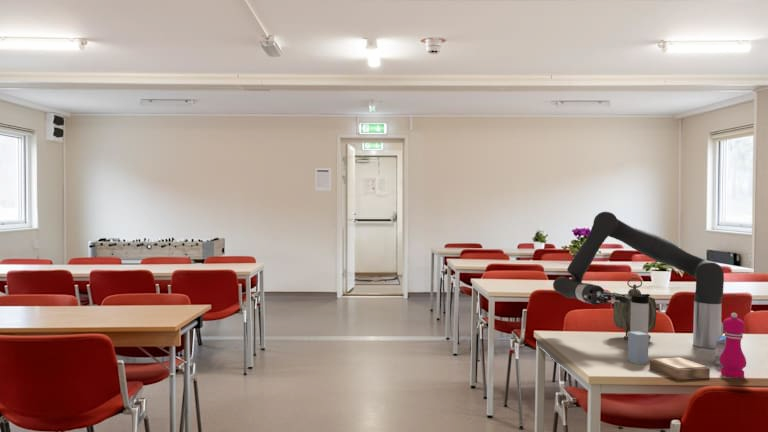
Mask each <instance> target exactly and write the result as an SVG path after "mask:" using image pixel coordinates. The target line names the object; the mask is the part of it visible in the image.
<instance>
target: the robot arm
mask: <svg viewBox="0 0 768 432" xmlns="http://www.w3.org/2000/svg"><path fill="white" fill-rule="evenodd" d="M592 223H593V224H592V226H591V229H590V232H589V234H588V235H587V237H586V239H585V241H584V243H582V245H581V246H580V247H579V249H578V251H577V252H576V253H575V255H574V256H573V258H572V260H571V261H570V263H569V265H568V267H567V269H566V270H567V272H568V274H570V275H571V278H568V277H565V276H558V277H557V278H556V279H554V281H553V283H552V286H553V289H554V291H555V292H556V293H557V294H560V295H562V297H565V298H568V299H575V300H578V301H581V302H583V303H587V304H590V305H594V306H599V305H600V304H608V303H614V302H616V301H617V302H622V303H628V297H625V295H624V294H621V293H617V292H609V291H605V289H604V288H603V287H602V286H600V285H596V284H594V283H593V284H592V283H587V282H583V279H584V277H585V274H586V272H587V271H588V270H589V268H590V266H591V264H592V262H593V261H594V258H595V256H596V255H597V253H598V251H599V249H600V248H601V247H602V245H603V243H604V242H605V241H606V239H607V238H608V237H610V238H612V239H616V240H618V241H620V242H622V243H624V244H626V245H627V246H628V247H630V248H632V249H633V250H635V251H637V252H639V253H641V254H642V255H644V256H646V257H648V258H650V259H653V260H654V261H656V262H660V263H662V264H664V265H668V266H671V267H674V268H677V269H679V270H680V271H682V272H684V273H686V274H688V275H689V276H691V277H693V278H694V279H695V292H694V297H693V331H692V333H693V334H692V345H693V346H695V347H697V348H704V349H711V350H713V349H715V350H716V341H717V340H718V339H719V338H720V337H722V336H724V328H723V321H722V301H723V296H724V285H725V284H724V283H725V282H724V281H725V275H724V270H723V268H722V267H721V265H719V264H718V263H716V262H714V261H712V260H707V259H705V258H701V257H699V256H697V255H693V254H691V253H689V252H687V251H686V250H685V249H682V248H680V247H679V246H678V245H677V244H674V243H673V242H671V241H669V240H667V239H666V238H663V237H661V236H660V235H657V234H654V233H652V232H650V231H646V230H643V229H640V228H636V227H633V226H631V225H630V224H627V223H625V222H624V221H622V220H620V219H619V218H617V217H616V215H615V214H614V213H612V212H611V211H601V212H599V213H597V215H595V217H594V219H593V222H592Z"/></svg>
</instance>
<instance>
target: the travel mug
mask: <svg viewBox="0 0 768 432" xmlns="http://www.w3.org/2000/svg"><path fill="white" fill-rule="evenodd" d="M649 297H651V294H649V293H646V294H643V293H641V294H636V295H632V296H631V299H632V300H631V323H630V332H637V331H640V332H643V333H646V334H649V331H648V313H649V305H648V304H649Z"/></svg>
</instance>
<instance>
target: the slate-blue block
mask: <svg viewBox="0 0 768 432" xmlns="http://www.w3.org/2000/svg"><path fill="white" fill-rule="evenodd" d="M649 335H650V334H649V333H648V334H646V333H643V332H640V331H637V332H629V331H628V334H627V337H628V340H627V361H628V362H630V361H631V363H632V362H633V364H635V363H636V364H635V365H642V364H643V365H645V364H646V365H647V364H648V363H649V341H650V339H649Z"/></svg>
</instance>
